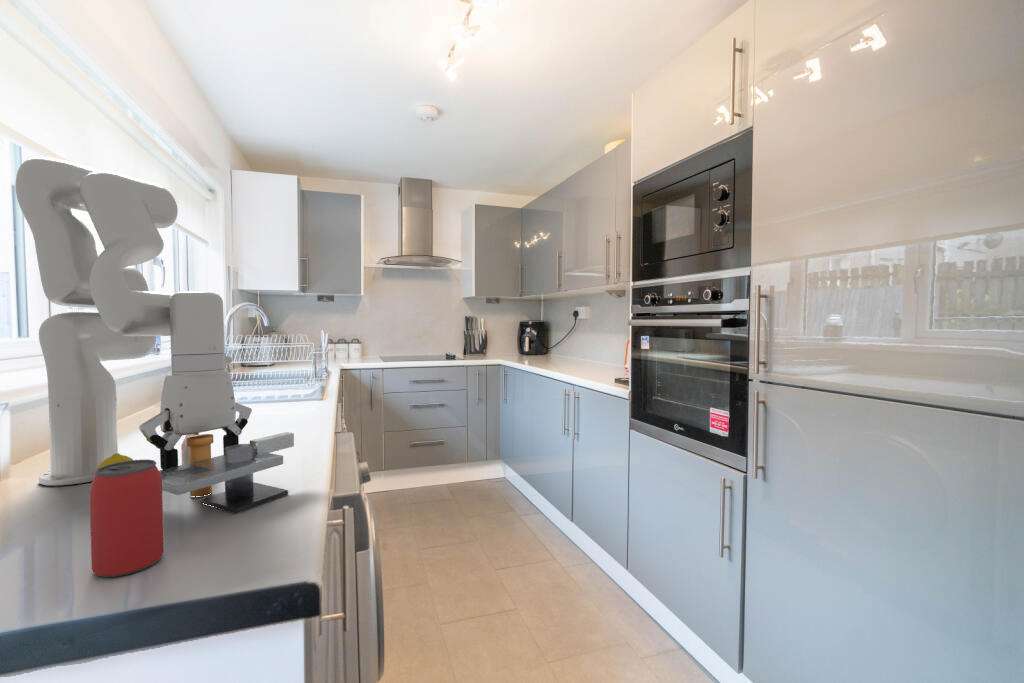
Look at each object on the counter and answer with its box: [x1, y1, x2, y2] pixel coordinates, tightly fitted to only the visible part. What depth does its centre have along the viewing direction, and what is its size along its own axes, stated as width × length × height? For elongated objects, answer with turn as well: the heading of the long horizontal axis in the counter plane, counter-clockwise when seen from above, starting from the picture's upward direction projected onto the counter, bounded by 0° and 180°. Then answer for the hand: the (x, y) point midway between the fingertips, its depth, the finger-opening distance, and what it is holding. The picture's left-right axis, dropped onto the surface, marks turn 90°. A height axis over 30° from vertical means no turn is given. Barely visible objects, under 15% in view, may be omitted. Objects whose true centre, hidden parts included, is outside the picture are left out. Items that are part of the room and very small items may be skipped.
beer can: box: [89, 459, 165, 578], centre depth 54 cm, size 7×7×12 cm
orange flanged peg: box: [186, 433, 215, 497], centre depth 78 cm, size 4×4×10 cm
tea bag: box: [181, 433, 200, 465], centre depth 87 cm, size 4×7×10 cm, turn 40°
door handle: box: [159, 431, 295, 515], centre depth 73 cm, size 10×21×9 cm, turn 153°
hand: (202, 464), depth 77 cm, fingers open, 9 cm apart
